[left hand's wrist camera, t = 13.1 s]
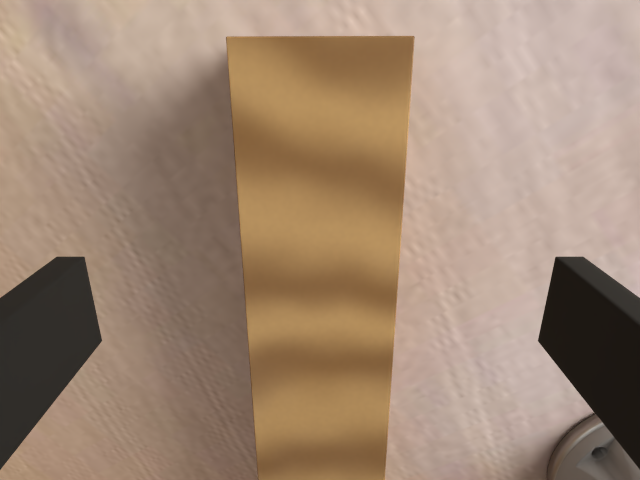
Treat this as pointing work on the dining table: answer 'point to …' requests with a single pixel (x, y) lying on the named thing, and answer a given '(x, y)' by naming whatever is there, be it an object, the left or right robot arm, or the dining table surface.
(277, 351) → the thick board
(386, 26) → the dining table surface
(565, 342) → the left robot arm
